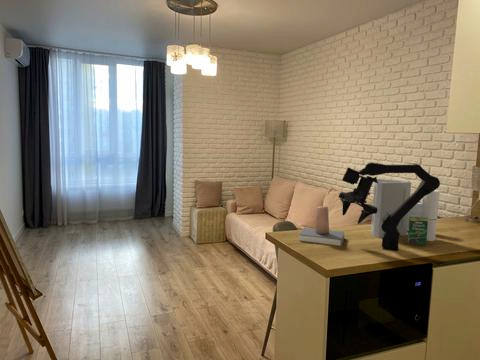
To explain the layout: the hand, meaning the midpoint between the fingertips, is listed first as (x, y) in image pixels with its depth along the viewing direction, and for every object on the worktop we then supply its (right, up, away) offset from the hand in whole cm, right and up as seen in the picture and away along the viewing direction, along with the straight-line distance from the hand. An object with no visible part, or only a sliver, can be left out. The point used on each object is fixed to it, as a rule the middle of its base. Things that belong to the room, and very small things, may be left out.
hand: (350, 219), depth 168 cm
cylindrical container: (+43, -12, +14) cm, 47 cm away
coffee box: (+33, -13, +4) cm, 36 cm away
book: (-12, -11, +8) cm, 18 cm away
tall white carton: (+25, -10, +24) cm, 35 cm away
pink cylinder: (-12, -7, +7) cm, 15 cm away
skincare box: (+41, -10, +31) cm, 52 cm away
